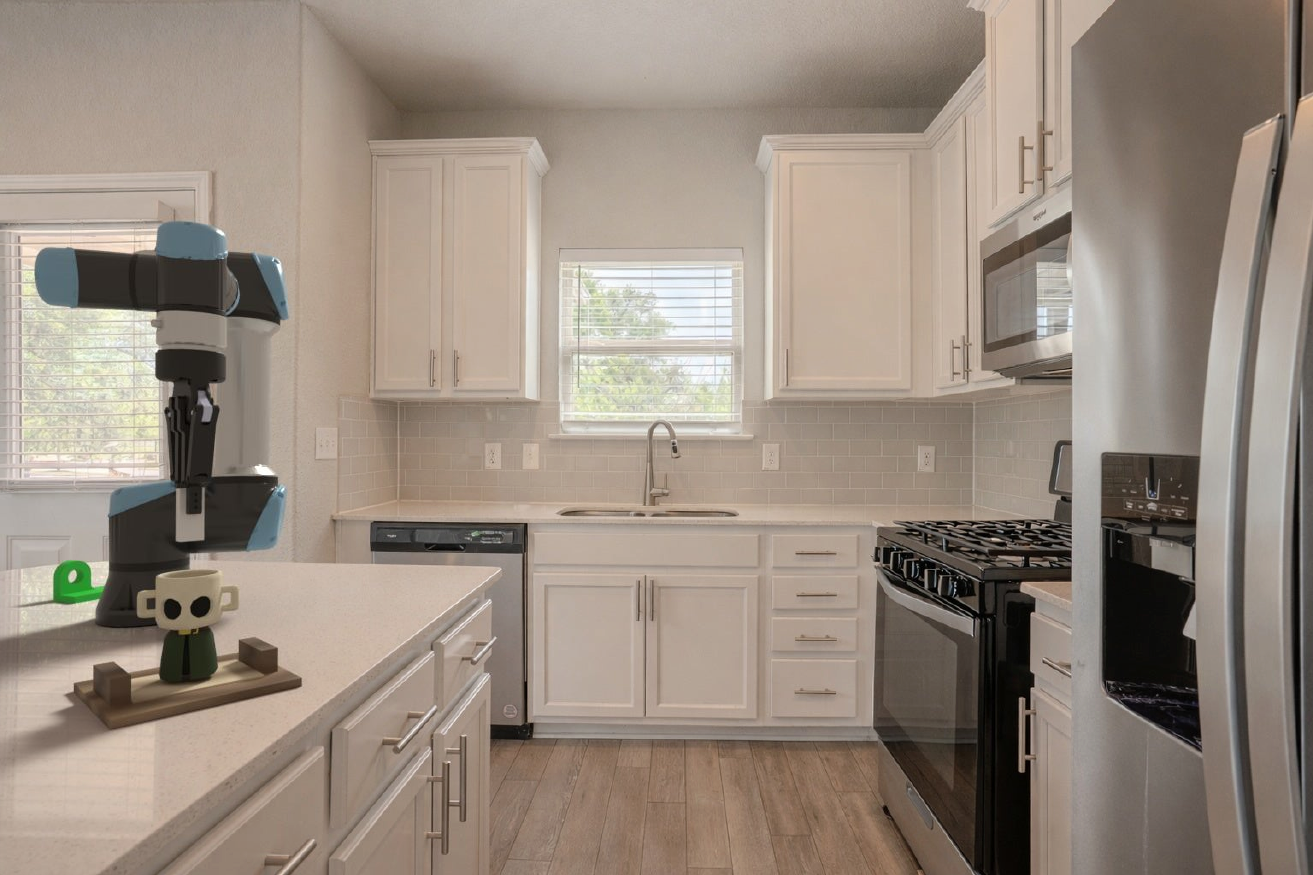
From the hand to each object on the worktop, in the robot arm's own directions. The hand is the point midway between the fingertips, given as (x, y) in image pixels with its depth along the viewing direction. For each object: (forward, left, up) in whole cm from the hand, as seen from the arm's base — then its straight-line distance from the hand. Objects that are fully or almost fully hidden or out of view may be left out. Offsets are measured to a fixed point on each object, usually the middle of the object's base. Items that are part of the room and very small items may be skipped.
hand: (190, 540), depth 95 cm
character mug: (0, 0, -17) cm, 17 cm away
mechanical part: (-72, +5, -19) cm, 75 cm away
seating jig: (0, 0, -18) cm, 18 cm away
